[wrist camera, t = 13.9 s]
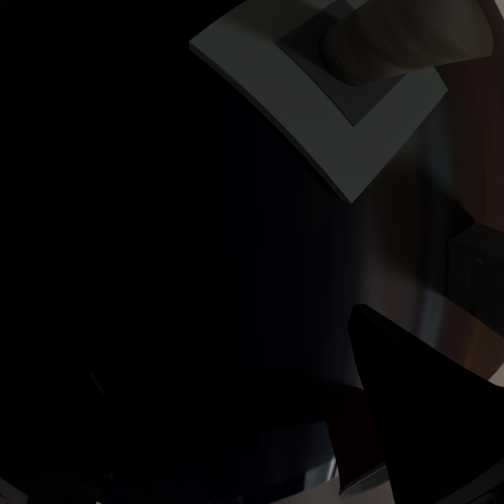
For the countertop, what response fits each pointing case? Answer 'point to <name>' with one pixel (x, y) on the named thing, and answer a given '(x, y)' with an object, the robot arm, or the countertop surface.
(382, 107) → the sage board
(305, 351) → the countertop surface
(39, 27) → the countertop surface
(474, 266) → the skincare box
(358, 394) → the plastic cup
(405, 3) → the ash sleeve
